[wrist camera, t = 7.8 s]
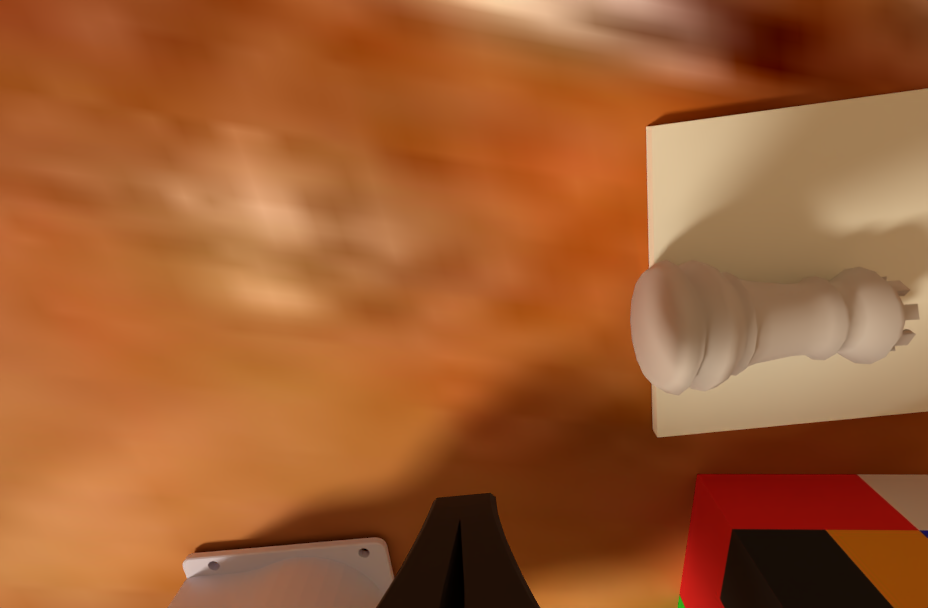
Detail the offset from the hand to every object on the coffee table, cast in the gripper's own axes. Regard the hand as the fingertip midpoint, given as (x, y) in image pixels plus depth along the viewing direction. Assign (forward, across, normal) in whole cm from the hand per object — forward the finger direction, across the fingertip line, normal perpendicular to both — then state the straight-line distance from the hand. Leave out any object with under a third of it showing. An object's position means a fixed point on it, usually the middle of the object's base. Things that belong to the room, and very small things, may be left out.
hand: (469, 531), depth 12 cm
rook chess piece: (+6, -6, -2) cm, 9 cm away
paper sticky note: (+9, -12, -2) cm, 16 cm away
